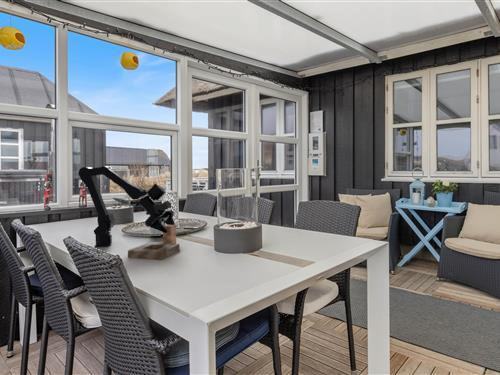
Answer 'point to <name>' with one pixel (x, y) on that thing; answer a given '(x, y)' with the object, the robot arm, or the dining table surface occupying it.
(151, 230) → the syrup box
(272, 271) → the dining table surface
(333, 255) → the dining table surface
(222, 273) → the dining table surface
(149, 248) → the walnut hole board
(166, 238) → the terracotta peg
